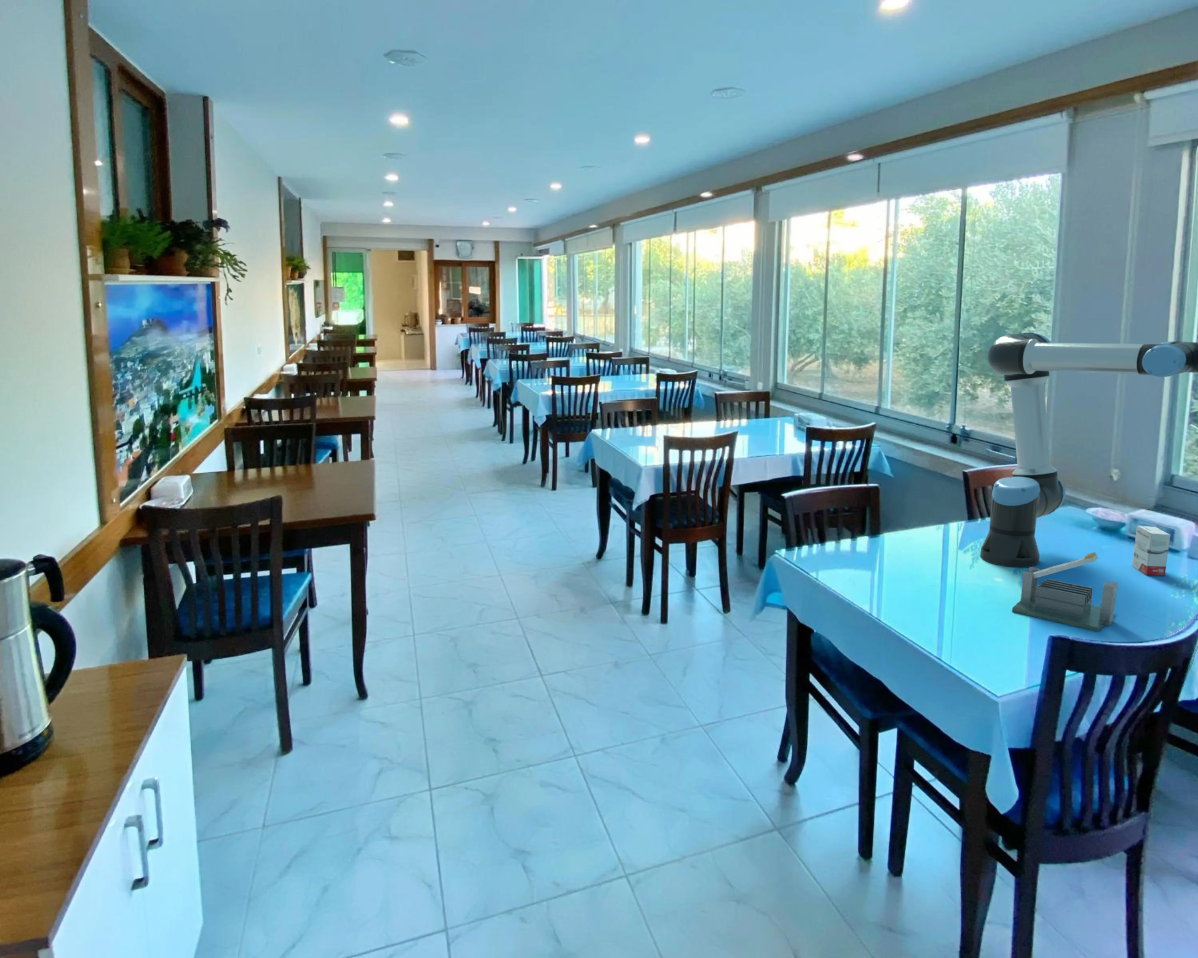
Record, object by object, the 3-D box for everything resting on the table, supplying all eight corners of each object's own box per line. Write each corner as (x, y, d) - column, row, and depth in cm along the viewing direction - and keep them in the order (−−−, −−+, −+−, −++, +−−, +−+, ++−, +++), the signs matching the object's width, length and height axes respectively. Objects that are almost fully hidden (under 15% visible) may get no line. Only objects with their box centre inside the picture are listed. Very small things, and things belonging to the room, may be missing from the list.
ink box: (1166, 576, 206) (1172, 534, 204) (1145, 575, 207) (1151, 533, 205) (1150, 566, 215) (1156, 525, 212) (1130, 565, 216) (1136, 525, 213)
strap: (1027, 580, 187) (1024, 574, 187) (1031, 577, 189) (1028, 570, 190) (1095, 562, 176) (1091, 555, 176) (1098, 558, 178) (1095, 551, 179)
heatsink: (1012, 611, 186) (1015, 574, 184) (1029, 595, 195) (1033, 560, 193) (1103, 632, 173) (1108, 593, 170) (1117, 614, 182) (1122, 576, 180)
